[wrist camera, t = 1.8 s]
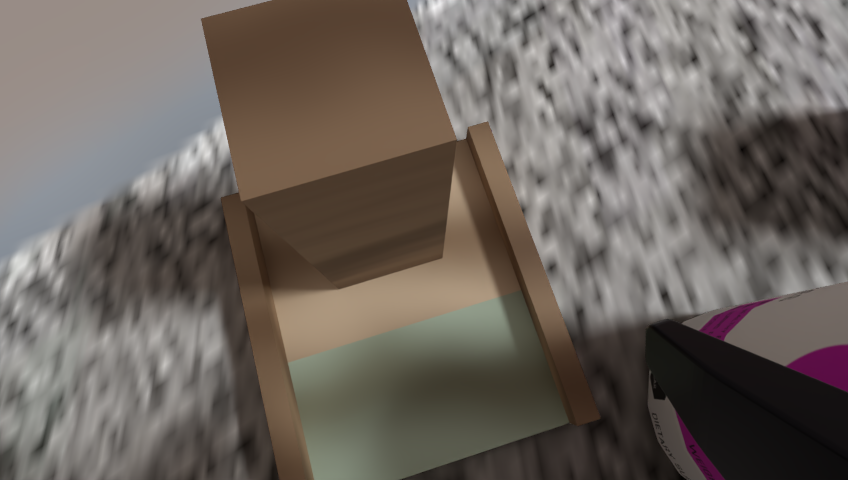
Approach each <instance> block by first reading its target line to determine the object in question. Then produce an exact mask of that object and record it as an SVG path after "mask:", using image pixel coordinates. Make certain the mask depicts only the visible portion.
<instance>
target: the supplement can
mask: <svg viewBox="0 0 848 480" xmlns="http://www.w3.org/2000/svg"><path fill="white" fill-rule="evenodd" d="M682 324H684V325H686V326H688V327H691V328H693V329H696V330H698V331H701V332H703V333H706V334H708V335H710V336H713V337H715V338H718V339H720V340H723V341H725V342H727V343H730V344H732V345H735V346H737V347H740V348H742V349H744V350H747V351H749V352H752V353H754V354H757V355H759V356H762V357H764V358H766V359H769V360H771V361H774V362H776V363H779V364H781V365H783V366H786V367H788V368H791V369H793V370H796V371H798V372H801V373H803V374H805V375H808V376H810V377H813V378H815V379H818V380H820V381H822V382H825V383H827V384H830V385H832V386H835V387H837V388H839V389H842V390H844V391H847V392H848V282H844V283H839V284H835V285H830V286H825V287H820V288H816V289H811V290H806V291H801V292H797V293H792V294H787V295H783V296H778V297H773V298H768V299H764V300H759V301H754V302H750V303H745V304H740V305H735V306H731V307H726V308H721V309H716V310H712V311H709V312H707V313H704V314H702V315H699V316H697V317H694V318H692V319H689V320H686V321H684V322H683V323H682ZM648 409H649V412H650V416H651V419H652V423H653V426H654V430H655V433H656V437H657V440H658V442H659V444H660V445H661V447H662V448H663V450H664V451H665V453H666V454H667V456H668V457H669V459H670V460H671V462H672V463H673V465H674V466H675V468H676V469H677V471H678V472H679V474H680V475H682V476H683V477H684V478H685V479H687V480H725V479H724V478H723V477H722V476H721V474H720V473H719V472H718V470H717V469H716V468H715V467H714V465H713V464H712V463H711V461H710V460H709V459H708V458H707V456H706V455H705V454H704V452H703V451H702V450H701V448H700V447H699V446H698V444H697V443H696V441H695V440H694V438H693V437H692V435H691V434H690V432H689V431H688V429H687V428H686V426H685V425H684V423H683V421H682V420H681V418H680V417H679V415H678V414H677V412H676V410H675V409H674V407H673V406H672V404H671V402H670V401H669V399H668V398H667V396H666V395H665V393H664V391H663V390H662V388H661V387H660V385H659V383H658V382H657V380H656V379H655V377H654V375H653V374H652V372H651V371H649V388H648Z"/></svg>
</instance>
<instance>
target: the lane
mask: <svg viewBox="0 0 848 480" xmlns="http://www.w3.org/2000/svg"><path fill="white" fill-rule="evenodd" d="M221 202H222V207H223V211H224V216H225V221H226V226H227V231H228V235H229V240H230V245H231V250H232V255H233V259H234V264H235V269H236V274H237V279H238V283H239V288H240V293H241V298H242V303H243V307H244V312H245V317H246V322H247V327H248V331H249V336H250V341H251V346H252V351H253V355H254V360H255V365H256V370H257V375H258V379H259V384H260V389H261V394H262V399H263V403H264V408H265V413H266V418H267V423H268V427H269V432H270V437H271V442H272V447H273V451H274V456H275V461H276V466H277V471H278V475H279V480H400V479H403V478H406V477H409V476H412V475H415V474H418V473H421V472H424V471H427V470H430V469H433V468H436V467H439V466H442V465H445V464H448V463H451V462H454V461H457V460H460V459H463V458H466V457H469V456H472V455H475V454H478V453H481V452H484V451H487V450H490V449H493V448H496V447H499V446H502V445H505V444H508V443H511V442H514V441H517V440H520V439H523V438H526V437H529V436H532V435H535V434H538V433H541V432H544V431H547V430H550V429H553V428H556V427H559V426H562V425H565V424H568V423H571V424H574V425H576V426H580V425H583V424H586V423H589V422H592V421H595V420H598V419H601V417H600V414H599V412H598V409H597V407H596V404H595V401H594V399H593V396H592V393H591V391H590V388H589V386H588V383H587V380H586V378H585V375H584V372H583V370H582V367H581V365H580V362H579V359H578V357H577V354H576V351H575V349H574V346H573V344H572V341H571V338H570V336H569V333H568V330H567V328H566V325H565V323H564V320H563V317H562V315H561V312H560V309H559V307H558V304H557V302H556V299H555V296H554V294H553V291H552V288H551V286H550V283H549V281H548V278H547V275H546V273H545V270H544V268H543V265H542V262H541V260H540V257H539V254H538V252H537V249H536V247H535V244H534V241H533V239H532V236H531V233H530V231H529V228H528V226H527V223H526V220H525V218H524V215H523V212H522V210H521V207H520V205H519V202H518V199H517V197H516V194H515V191H514V189H513V186H512V184H511V181H510V178H509V176H508V173H507V170H506V168H505V165H504V163H503V160H502V157H501V155H500V152H499V150H498V147H497V144H496V142H495V139H494V136H493V134H492V131H491V129H490V126H489V123H488V122H484V123H481V124H477V125H474V126H470V127H468V130H467V137H466V139H464V140H460V141H457V142H456V150H455V159H454V167H453V175H452V183H451V192H450V200H449V208H448V217H447V225H446V233H445V241H444V250H443V258H441V259H438V260H435V261H431V262H428V263H425V264H422V265H418V266H415V267H412V268H408V269H405V270H402V271H399V272H395V273H392V274H389V275H385V276H382V277H379V278H375V279H372V280H369V281H366V282H362V283H359V284H356V285H352V286H349V287H346V288H342V289H338V288H337V287H336V286H335V285H334V284H333V283H331V282H330V281H329V280H328V279H327V278H326V277H325V276H324V275H323V274H321V273H320V272H319V271H318V270H317V269H316V268H315V267H314V266H313V265H311V264H310V263H309V262H308V261H307V260H306V259H305V258H304V257H303V256H301V255H300V254H299V253H298V252H297V251H296V250H295V249H294V248H292V247H291V246H290V245H289V244H288V243H287V242H286V241H285V240H284V239H282V238H281V237H280V236H279V235H278V234H277V233H276V232H275V231H274V230H272V229H271V228H270V227H269V226H268V225H267V224H266V223H265V222H264V221H262V220H261V219H260V218H259V217H258V216H257V215H256V214H255V213H254V212H252V211H251V210H250V209H249V208H248V207H247V206H246V205H245V204H244V203H242V202H241V199H240V194H239V193H235V194H232V195H228V196H225V197H221Z"/></svg>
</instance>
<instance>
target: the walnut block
mask: <svg viewBox="0 0 848 480" xmlns="http://www.w3.org/2000/svg"><path fill="white" fill-rule="evenodd" d="M201 21H202V26H203V30H204V35H205V39H206V44H207V48H208V53H209V57H210V62H211V67H212V71H213V76H214V80H215V85H216V89H217V94H218V98H219V103H220V107H221V112H222V117H223V121H224V126H225V130H226V135H227V139H228V144H229V148H230V153H231V158H232V162H233V167H234V171H235V176H236V180H237V185H238V189H239V194H240V199H241V202H242V203H244V204H245V205H246V206H247V207H248V208H249V209H250V210H251V211H252V212H254V213H255V214H256V215H257V216H258V217H259V218H260V219H261V220H262V221H264V222H265V223H266V224H267V225H268V226H269V227H270V228H271V229H272V230H274V231H275V232H276V233H277V234H278V235H279V236H280V237H281V238H282V239H284V240H285V241H286V242H287V243H288V244H289V245H290V246H291V247H292V248H294V249H295V250H296V251H297V252H298V253H299V254H300V255H301V256H303V257H304V258H305V259H306V260H307V261H308V262H309V263H310V264H311V265H313V266H314V267H315V268H316V269H317V270H318V271H319V272H320V273H321V274H323V275H324V276H325V277H326V278H327V279H328V280H329V281H330V282H331V283H333V284H334V285H335V286H336V287H337V288H338V289H342V288H346V287H349V286H352V285H356V284H359V283H362V282H366V281H369V280H372V279H375V278H379V277H382V276H385V275H389V274H392V273H395V272H399V271H402V270H405V269H408V268H412V267H415V266H418V265H422V264H425V263H428V262H431V261H435V260H438V259H441V258H443V250H444V241H445V233H446V225H447V217H448V208H449V200H450V192H451V183H452V175H453V167H454V159H455V150H456V142H457V139H456V136H455V133H454V130H453V128H452V125H451V122H450V119H449V116H448V114H447V111H446V108H445V105H444V103H443V100H442V97H441V94H440V91H439V89H438V86H437V83H436V80H435V77H434V75H433V72H432V69H431V66H430V63H429V61H428V58H427V55H426V52H425V50H424V47H423V44H422V41H421V38H420V36H419V33H418V30H417V27H416V24H415V22H414V19H413V16H412V13H411V10H410V8H409V5H408V2H407V0H272V1H267V2H264V3H260V4H256V5H252V6H249V7H244V8H240V9H237V10H233V11H229V12H225V13H222V14H218V15H213V16H210V17H206V18H202V19H201Z"/></svg>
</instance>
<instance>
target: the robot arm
mask: <svg viewBox="0 0 848 480" xmlns="http://www.w3.org/2000/svg"><path fill="white" fill-rule="evenodd" d="M645 357H646V362H647V365H648V367H649V369H650V371H651V372H652V374H653V375H654V377H655V379H656V380H657V382H658V383H659V385H660V387H661V388H662V390H663V391H664V393H665V395H666V396H667V398H668V399H669V401H670V402H671V404H672V406H673V407H674V409H675V410H676V412H677V414H678V415H679V417H680V418H681V420H682V421H683V423H684V425H685V426H686V428H687V429H688V431H689V432H690V434H691V435H692V437H693V438H694V440H695V441H696V443H697V444H698V446H699V447H700V448H701V450H702V451H703V452H704V454H705V455H706V456H707V458H708V459H709V460H710V461H711V463H712V464H713V465H714V467H715V468H716V469H717V470H718V472H719V473H720V474H721V476H722V477H723V478H724V479H725V480H848V392H847V391H844V390H842V389H839V388H837V387H835V386H832V385H830V384H827V383H825V382H822V381H820V380H818V379H815V378H813V377H810V376H808V375H805V374H803V373H801V372H798V371H796V370H793V369H791V368H788V367H786V366H783V365H781V364H779V363H776V362H774V361H771V360H769V359H766V358H764V357H762V356H759V355H757V354H754V353H752V352H749V351H747V350H744V349H742V348H740V347H737V346H735V345H732V344H730V343H727V342H725V341H723V340H720V339H718V338H715V337H713V336H710V335H708V334H706V333H703V332H701V331H698V330H696V329H693V328H691V327H688V326H686V325H684V324H681V323H679V322H676V321H674V320H670V319H665V320H662V321H659V322H656V323H653V324H650V325H648V327H647V328H646V347H645Z"/></svg>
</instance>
